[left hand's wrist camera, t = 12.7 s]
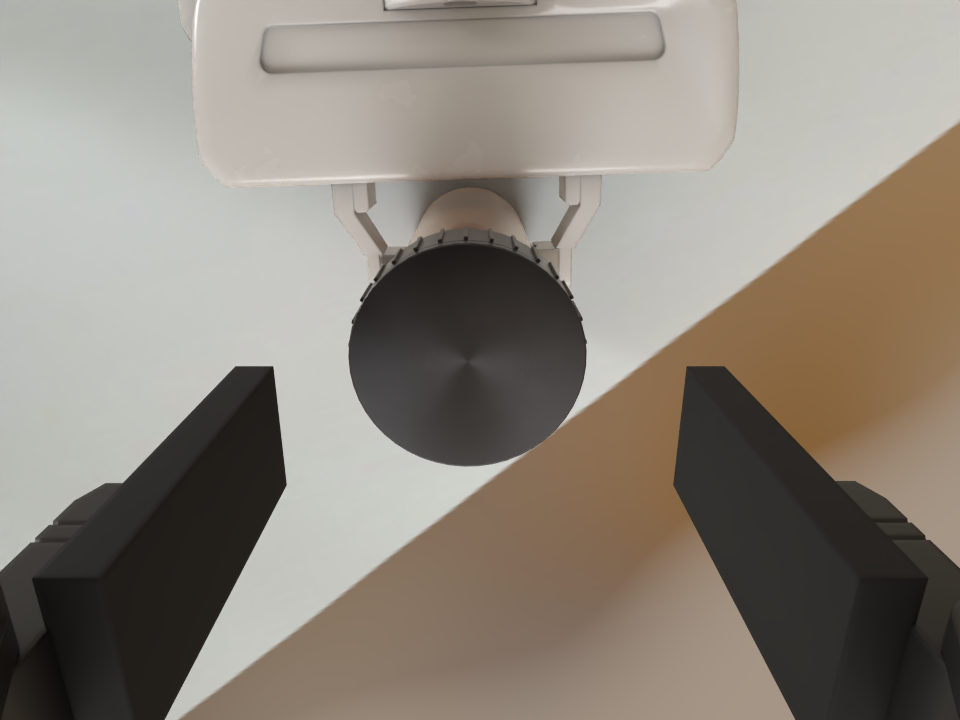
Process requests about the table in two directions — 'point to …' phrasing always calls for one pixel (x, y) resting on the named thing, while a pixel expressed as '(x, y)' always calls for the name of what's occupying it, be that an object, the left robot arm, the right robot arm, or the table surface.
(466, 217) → the jar
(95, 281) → the table surface
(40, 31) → the table surface
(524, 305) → the lid
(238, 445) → the left robot arm
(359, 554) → the table surface
